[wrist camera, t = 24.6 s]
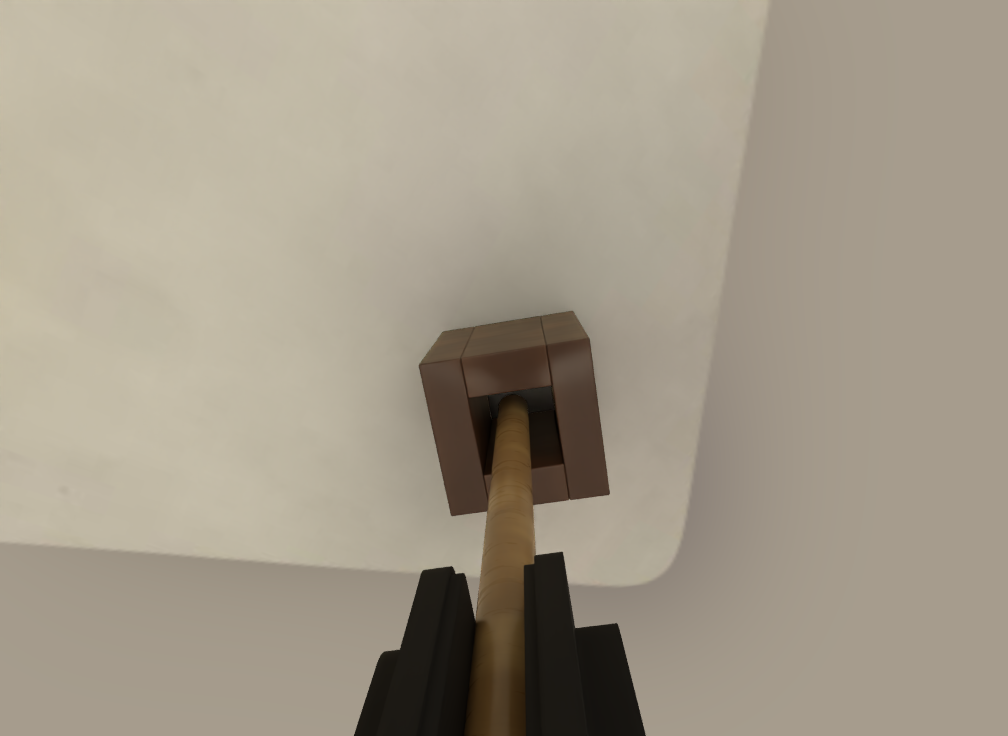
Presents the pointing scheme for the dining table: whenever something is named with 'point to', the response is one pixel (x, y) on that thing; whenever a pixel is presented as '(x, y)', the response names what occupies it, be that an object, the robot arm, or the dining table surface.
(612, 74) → the dining table surface
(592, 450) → the stick holder
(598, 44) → the dining table surface
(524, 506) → the bamboo stick
